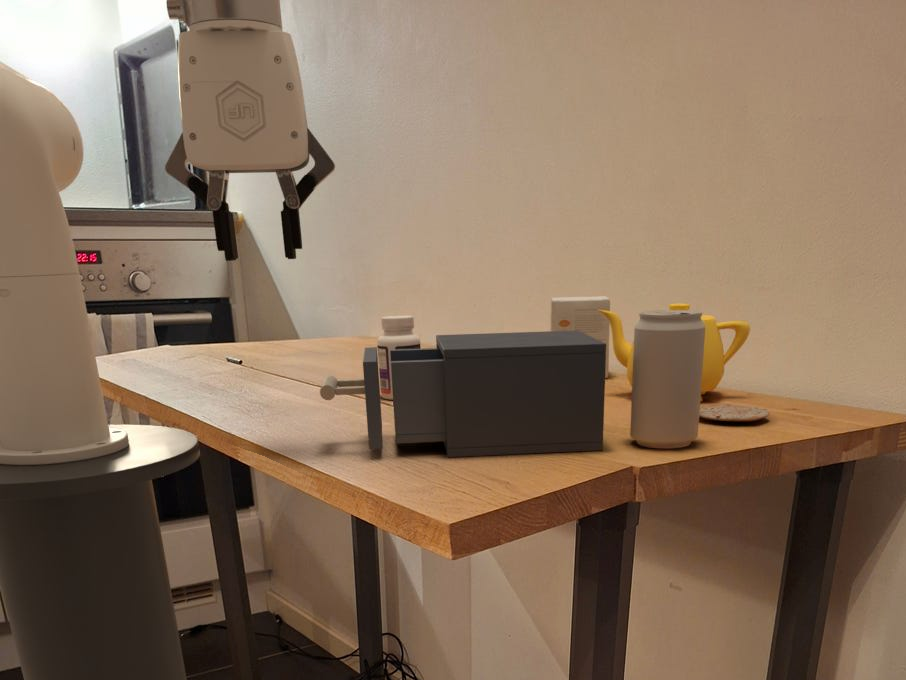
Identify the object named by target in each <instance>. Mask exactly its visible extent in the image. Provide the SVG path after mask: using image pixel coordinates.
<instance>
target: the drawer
mask: <svg viewBox="0 0 906 680" xmlns="http://www.w3.org/2000/svg"><path fill="white" fill-rule="evenodd" d="M390 357H391V373H392V389H393V400H392V404H393V405H392V407H393V419H394V433H395V434H394V435H395V443H396V444H416V443H438V442H440V443H442V442H443V441H447V432H446V405H445V379H444V356H443V354H442V353H441V351H440V349H439V348H436V347H432V348H431V347H427V348H425V347H423V348H421V349H395V350H390ZM362 370H363V371H362V372H363V378H357V379H337V378H336V377H335V376H333V375H327V376H326V377H325V378H324V379H323V382H322V385H321V387H320V390H319V395H320V397H321V398H322V399H323V400H325V401H331V400H333V399H334V398H335V396H349V395H350V396H351V395H354V396H355V395H364V397H365V398H364V399H365V412H366V424H367V425H366V426H367V440H368V450H383V417H382V404H381V403H382V402H381V389H380V375H379V361H378V348H377V346H376V347H375V346H374V347H373V346H372V347H371V346H370V347H364V351H363V358H362ZM443 443H444V442H443Z"/></svg>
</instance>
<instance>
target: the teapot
mask: <svg viewBox="0 0 906 680" xmlns="http://www.w3.org/2000/svg"><path fill="white" fill-rule="evenodd" d="M690 307H691V304H689V303H682V302H681V303H671V304H669V305H668V310H690ZM598 310H599V309H598ZM599 311H600V312H601V313H603V314H604V315H605V316H606V317H607V319H608V320H609V322H610V329H611V338H612V348H613V352H614V355H615V357H616V359H617V361H618V363H620V365H622V366H623V367H625V368H626V378H627V380H628V383H629V385H630V387H631V388H632V378H633V354H634V339H633V341H632V343H631V344H630V343H629V342H628V341H627V340H626V338H625V336H624V330H623V329H624V328H623V324H622V319H621V318H620V316H619V314H618V313H616V312H614V311H611V310H610V311H605V310H599ZM701 319H702V321H703V323H704V325H705V341H704V355H703V369H702V383H701V395H705V394H706V392H712V391H715V390H716V389H717V387H718V385H719V384H720V382H721V380H722V378H723V376H724V374H725V366H726V365H727V363H728V362H729V361H730V360H731V359H732V358H733V357H734V356H735V355H736V354H737V352H738V351H739V350H741V348H742V347H743V345H744V344H745V342H746V341H747V339H748V337H749V335H750V331H751V326H750V324H749V323H748V322H746V321H744V320H730V321H729V320H728V321H722V322H717V319H716V317H715V316H713V315H707V314H706V315H705V314H702V316H701ZM720 330H734V332H735V334H734V338H733V340H732V342H731V344H730V346H729V348H728V349H727V351H726V352H724V345H723V344H724V343H723V340H722V336H721V333H720ZM700 402H703V397H702V396H701V397H700Z"/></svg>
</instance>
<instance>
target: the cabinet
mask: <svg viewBox="0 0 906 680" xmlns="http://www.w3.org/2000/svg"><path fill="white" fill-rule="evenodd" d="M435 343H436V344H435V345H436V347H435V348H439V349H440V351H441V353H442V354H443V356H444V379H445V405H446V432H447V441H443V446H444V449H445V452H446V456H447V458H459V457H462V458H463V457H482V456H483V457H484V456H485V457H486V456H506V455H508V456H509V455H528V454H549V453H551V454H552V453H573V452H594V451H604V428H605V427H604V425H605V424H604V423H605V422H604V421H605V397H606V396H605V393H606V392H605V391H606V378H605V366H606V353H605V352H606V343H603V342H601V341H599V340H597V339H595V338H593V337H591V336H589V335H587V334H584V333H582V332H580V331H578V330H575V331H550V330H549V331H519V332H518V331H517V332H491V333H462V334H461V333H459V334H436V335H435Z"/></svg>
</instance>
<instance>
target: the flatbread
mask: <svg viewBox="0 0 906 680" xmlns="http://www.w3.org/2000/svg"><path fill="white" fill-rule="evenodd" d="M770 414H771V412H770V411H769V410H768V409H766V408H761V407H758V406H757V407H756V406H746V405H739V404H738V405H737V404H736V405H735V404H728V403H719V404H714V405H708V406H702V407H701V406H700V412H699V418H702V419H707V420H713V421H720V422H721V421H723V422H754V421H759V420H761V419H764V418H767V417H769V416H770Z"/></svg>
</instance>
